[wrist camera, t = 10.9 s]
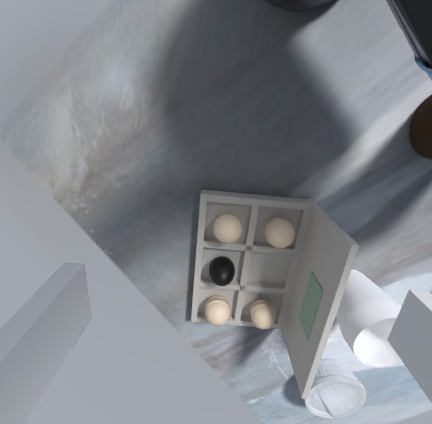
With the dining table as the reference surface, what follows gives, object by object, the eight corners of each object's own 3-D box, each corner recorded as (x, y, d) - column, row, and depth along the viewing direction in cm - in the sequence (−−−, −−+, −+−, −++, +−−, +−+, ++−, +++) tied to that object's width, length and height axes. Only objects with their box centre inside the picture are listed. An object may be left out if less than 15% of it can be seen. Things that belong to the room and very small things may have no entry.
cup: (325, 311, 47) (358, 374, 36) (313, 272, 44) (345, 328, 33) (376, 297, 46) (427, 358, 35) (367, 255, 43) (420, 308, 31)
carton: (201, 189, 39) (192, 230, 26) (312, 199, 39) (359, 245, 26) (192, 312, 47) (182, 389, 34) (283, 319, 48) (307, 399, 35)
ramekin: (286, 380, 54) (293, 407, 49) (319, 345, 50) (330, 371, 45) (329, 398, 56) (339, 426, 51) (364, 366, 52) (379, 393, 47)
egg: (231, 250, 41) (233, 268, 37) (236, 271, 43) (238, 291, 38) (206, 255, 42) (205, 273, 37) (212, 276, 43) (211, 296, 38)
